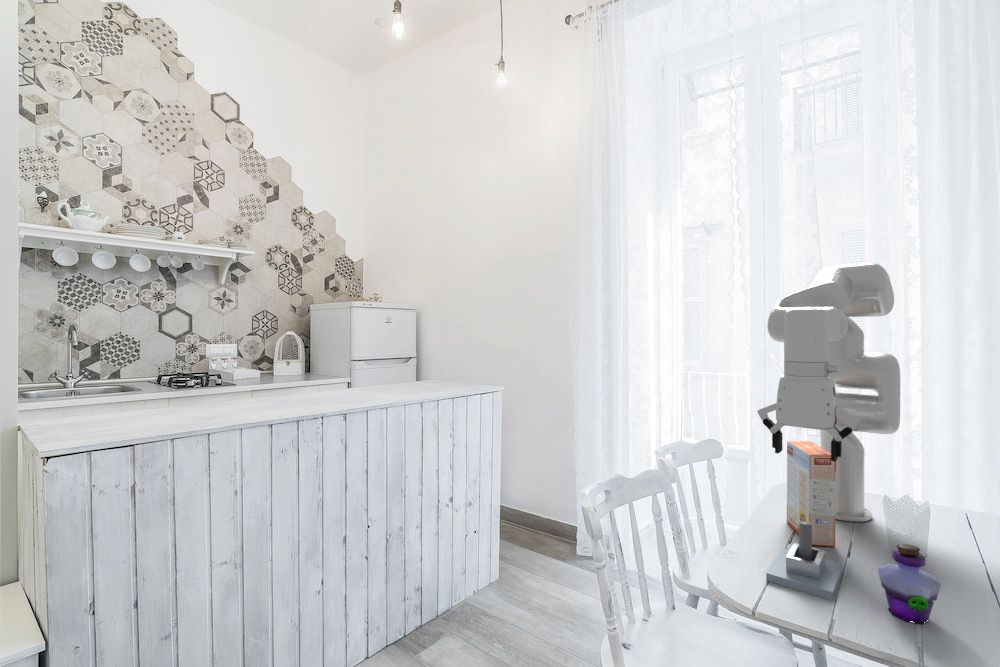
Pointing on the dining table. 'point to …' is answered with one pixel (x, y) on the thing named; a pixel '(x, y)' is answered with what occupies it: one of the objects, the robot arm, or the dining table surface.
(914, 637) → the dining table surface
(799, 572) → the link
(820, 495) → the cracker box
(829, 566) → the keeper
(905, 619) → the potion bottle
